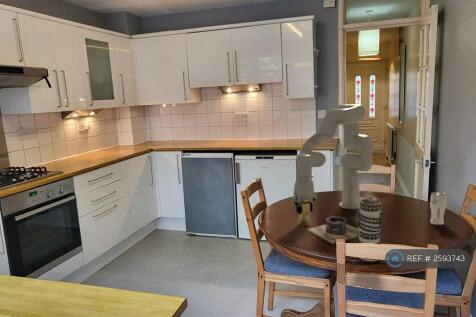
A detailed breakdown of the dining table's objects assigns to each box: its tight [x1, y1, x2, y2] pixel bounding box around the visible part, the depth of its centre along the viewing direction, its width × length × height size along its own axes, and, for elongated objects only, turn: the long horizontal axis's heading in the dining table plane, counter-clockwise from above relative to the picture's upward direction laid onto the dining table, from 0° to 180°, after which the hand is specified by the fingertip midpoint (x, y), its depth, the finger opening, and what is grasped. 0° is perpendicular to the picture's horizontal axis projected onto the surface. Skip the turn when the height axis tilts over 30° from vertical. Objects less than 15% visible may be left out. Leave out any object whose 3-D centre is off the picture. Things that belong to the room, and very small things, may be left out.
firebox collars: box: [325, 215, 348, 235], centre depth 173 cm, size 9×9×6 cm
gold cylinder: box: [298, 199, 311, 227], centre depth 184 cm, size 6×6×14 cm
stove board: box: [307, 220, 360, 245], centre depth 173 cm, size 20×18×1 cm
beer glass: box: [429, 191, 447, 226], centre depth 179 cm, size 7×7×15 cm
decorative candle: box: [357, 195, 383, 262], centre depth 146 cm, size 9×9×25 cm
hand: (304, 212), depth 184 cm, fingers open, 6 cm apart
